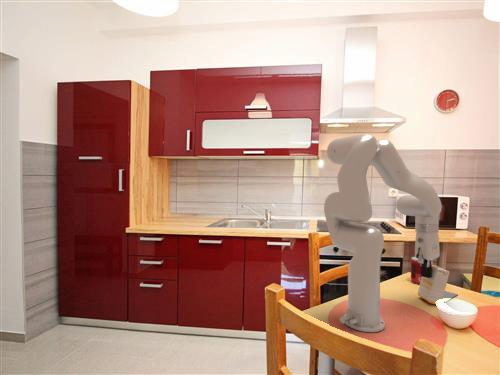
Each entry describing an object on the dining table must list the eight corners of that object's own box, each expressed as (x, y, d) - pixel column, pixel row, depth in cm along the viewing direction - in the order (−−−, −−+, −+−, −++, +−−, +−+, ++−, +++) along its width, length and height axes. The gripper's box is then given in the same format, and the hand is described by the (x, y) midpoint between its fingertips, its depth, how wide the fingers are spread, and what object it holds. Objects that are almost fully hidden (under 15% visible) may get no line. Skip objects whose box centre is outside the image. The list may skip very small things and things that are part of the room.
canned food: (434, 284, 133) (435, 259, 132) (422, 286, 130) (422, 261, 129) (419, 279, 140) (419, 255, 139) (407, 281, 137) (407, 257, 137)
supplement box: (441, 306, 109) (450, 271, 109) (428, 303, 109) (437, 268, 109) (428, 297, 117) (436, 265, 117) (416, 294, 117) (424, 262, 117)
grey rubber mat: (444, 302, 112) (444, 301, 112) (422, 295, 119) (422, 294, 119) (457, 295, 119) (457, 294, 119) (436, 289, 126) (436, 288, 126)
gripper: (428, 231, 104) (427, 283, 104) (446, 227, 113) (446, 275, 113) (406, 228, 110) (406, 278, 110) (425, 225, 119) (425, 270, 119)
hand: (426, 276), depth 112 cm, fingers closed
